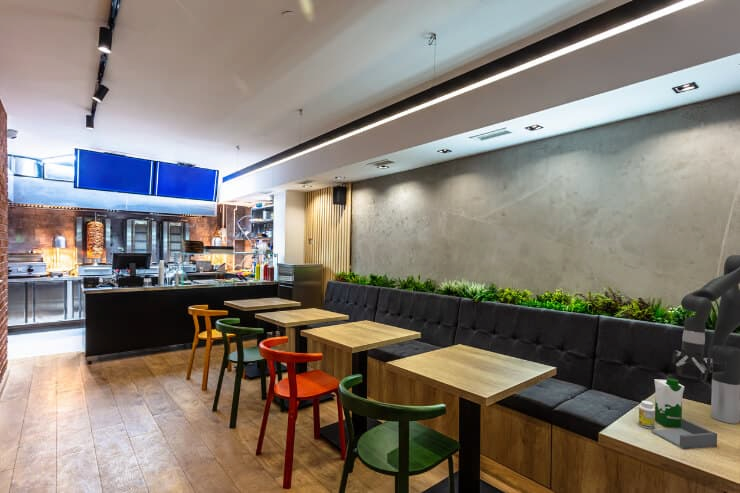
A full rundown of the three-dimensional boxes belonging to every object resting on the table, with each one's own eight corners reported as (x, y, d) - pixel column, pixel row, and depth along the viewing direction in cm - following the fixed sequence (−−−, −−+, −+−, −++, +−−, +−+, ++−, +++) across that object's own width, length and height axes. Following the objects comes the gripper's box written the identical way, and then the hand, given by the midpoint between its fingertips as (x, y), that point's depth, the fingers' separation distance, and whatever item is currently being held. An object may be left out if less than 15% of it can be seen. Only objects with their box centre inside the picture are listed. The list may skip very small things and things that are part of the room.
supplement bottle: (639, 421, 166) (640, 398, 166) (655, 426, 162) (655, 402, 162) (637, 426, 162) (638, 402, 161) (654, 430, 158) (655, 406, 158)
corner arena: (683, 429, 159) (683, 418, 159) (716, 446, 147) (717, 433, 147) (651, 432, 156) (651, 420, 156) (682, 449, 144) (683, 436, 144)
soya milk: (663, 427, 161) (665, 380, 161) (650, 418, 170) (651, 373, 170) (685, 429, 160) (687, 382, 160) (671, 419, 169) (672, 375, 169)
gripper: (718, 345, 162) (715, 383, 162) (679, 337, 175) (676, 372, 175) (708, 345, 159) (706, 384, 159) (670, 337, 172) (667, 373, 172)
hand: (690, 378), depth 167 cm, fingers open, 8 cm apart
